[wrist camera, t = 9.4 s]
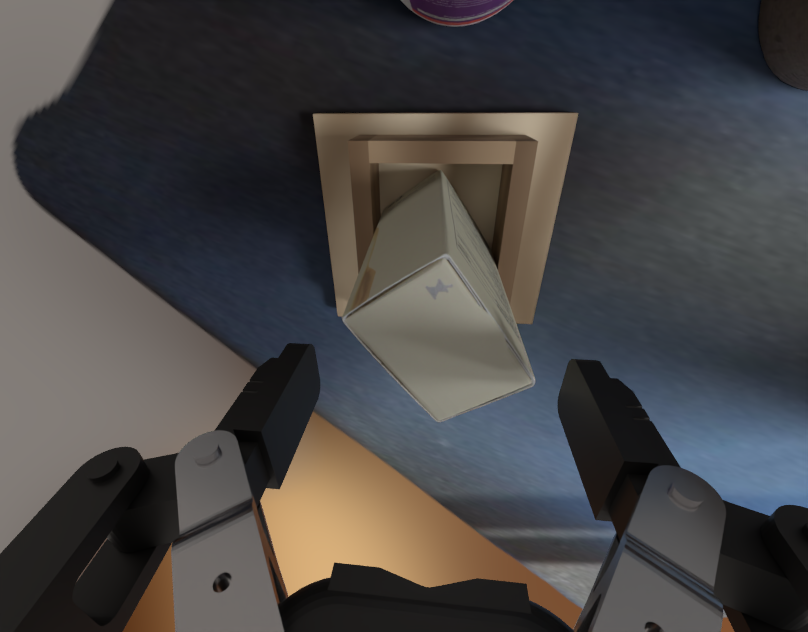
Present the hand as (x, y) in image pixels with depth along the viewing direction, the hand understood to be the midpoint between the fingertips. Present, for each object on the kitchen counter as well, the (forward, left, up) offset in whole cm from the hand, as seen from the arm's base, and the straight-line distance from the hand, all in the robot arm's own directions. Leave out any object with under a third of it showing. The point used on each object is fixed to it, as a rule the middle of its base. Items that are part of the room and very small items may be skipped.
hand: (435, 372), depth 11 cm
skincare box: (0, 0, -13) cm, 13 cm away
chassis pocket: (0, 0, -14) cm, 14 cm away
